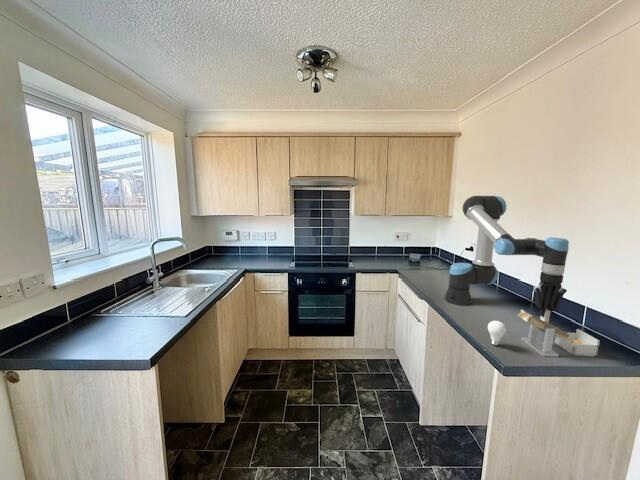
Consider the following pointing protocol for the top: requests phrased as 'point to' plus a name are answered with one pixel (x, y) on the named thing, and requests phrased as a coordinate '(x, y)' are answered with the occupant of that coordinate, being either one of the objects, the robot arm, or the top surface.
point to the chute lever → (541, 324)
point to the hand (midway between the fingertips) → (543, 322)
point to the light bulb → (496, 331)
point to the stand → (540, 347)
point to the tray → (579, 344)
